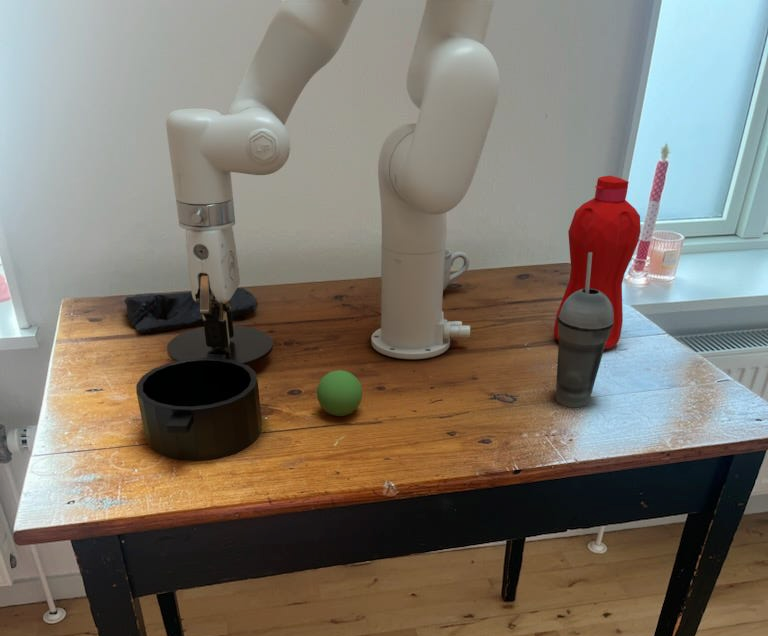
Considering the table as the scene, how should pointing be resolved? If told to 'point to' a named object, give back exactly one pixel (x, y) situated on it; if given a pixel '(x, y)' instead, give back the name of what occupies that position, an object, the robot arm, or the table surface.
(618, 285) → the water bottle
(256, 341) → the lid
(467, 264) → the teacup
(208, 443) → the pan
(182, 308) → the dark slate chunk
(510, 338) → the table surface
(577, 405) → the beverage cup
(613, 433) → the table surface
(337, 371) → the ball
